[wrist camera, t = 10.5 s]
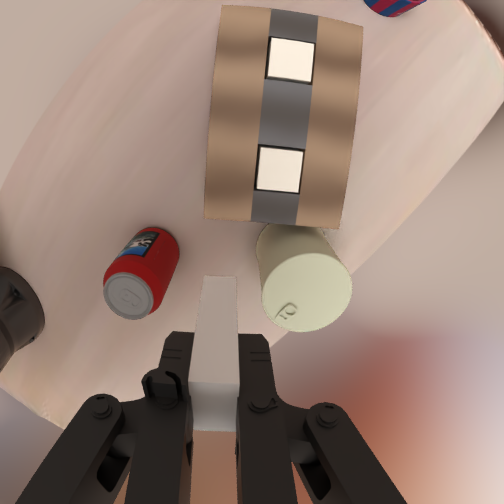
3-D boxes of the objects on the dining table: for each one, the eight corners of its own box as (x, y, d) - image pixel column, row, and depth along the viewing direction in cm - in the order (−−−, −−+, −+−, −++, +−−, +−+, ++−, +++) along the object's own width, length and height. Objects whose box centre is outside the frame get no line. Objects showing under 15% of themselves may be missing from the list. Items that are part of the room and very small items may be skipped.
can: (240, 249, 40) (240, 300, 29) (293, 200, 37) (315, 234, 26) (288, 291, 42) (302, 349, 31) (338, 248, 40) (371, 295, 29)
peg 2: (254, 176, 35) (256, 188, 29) (257, 142, 34) (260, 147, 27) (287, 179, 36) (297, 192, 29) (291, 146, 34) (303, 152, 28)
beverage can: (147, 215, 37) (112, 254, 26) (190, 244, 39) (171, 293, 28) (124, 254, 39) (88, 301, 28) (164, 280, 41) (141, 335, 30)
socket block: (322, 210, 38) (338, 229, 31) (210, 200, 37) (203, 218, 30) (342, 41, 29) (363, 26, 22) (225, 25, 28) (221, 5, 22)
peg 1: (262, 84, 31) (268, 75, 24) (266, 53, 29) (271, 37, 23) (297, 89, 31) (310, 81, 25) (300, 58, 29) (314, 44, 23)
